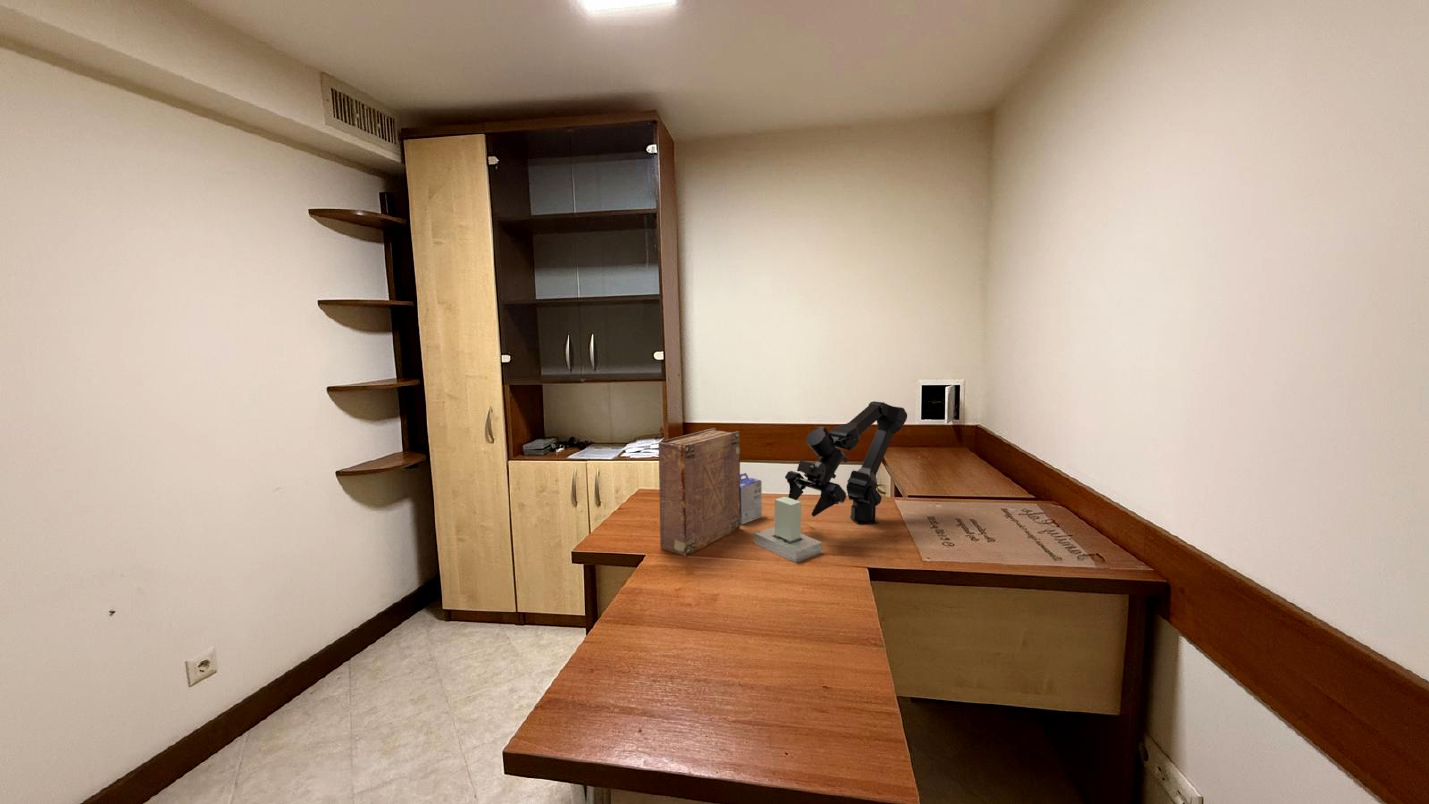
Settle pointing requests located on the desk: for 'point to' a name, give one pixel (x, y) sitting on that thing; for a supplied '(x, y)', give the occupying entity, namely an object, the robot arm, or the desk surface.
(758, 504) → the ink cartridge box
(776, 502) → the clip
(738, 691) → the desk surface
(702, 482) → the book
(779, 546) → the grey slotted base
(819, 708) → the desk surface
